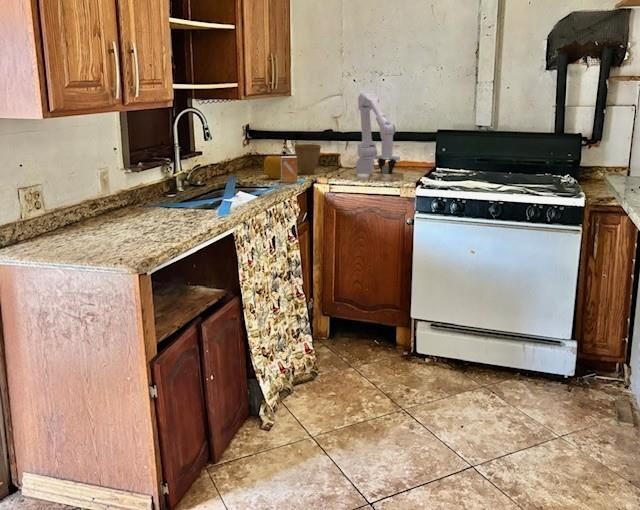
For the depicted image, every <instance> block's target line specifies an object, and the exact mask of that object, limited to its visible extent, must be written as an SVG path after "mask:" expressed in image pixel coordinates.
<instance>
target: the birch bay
mask: <svg viewBox="0 0 640 510" xmlns="http://www.w3.org/2000/svg"><path fill="white" fill-rule="evenodd" d="M404 175H405V173H404V172H403V171H392V175H389V174H381V170H377V171H374V172H372V173H369V180H368V181H380V182H387V183H388V182H390V183H394V182H397V181H402V180H404Z"/></svg>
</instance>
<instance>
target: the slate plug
mask: <svg viewBox="0 0 640 510" xmlns="http://www.w3.org/2000/svg"><path fill="white" fill-rule="evenodd" d="M382 174H389V165H388V163H385V165H384V166H382ZM389 175H392V174H389Z"/></svg>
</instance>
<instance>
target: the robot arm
mask: <svg viewBox="0 0 640 510" xmlns="http://www.w3.org/2000/svg"><path fill="white" fill-rule="evenodd" d="M357 106H358V110H359V111H360V112H359V113H360V126H361V141H360V142H359V143H358V144H357V157H358V158H357V160H356V162H355V175H357V174H360V173H366V174H369V173H372V172H375V170H374V169H375V167H374V165H375V163H374V162H375V160H377V161H376V162H377V164H378V166H379V168H380V171H381V174H382V166H384V165H385V164H386V161H387V164H388V165H389V174H392V172H394V171H393V170H394V167H395V165H396V163H397V162H398V161H401V157H400V156H396V155H393V148H394V147H393V145H394V139H393V138H394V135H395V134H396V126H395V124H394V123H392V122H390V119H389V118H388V116H387V114H386V113H384V112H383V110H382V108H381V106H380V97H379V94H378V93H376V92H373V93H372V92H371V93H370V92H369V93H367V92H366V93H363V92H362V93H360V94H359V96H358V98H357ZM371 110H372V111H373V112H374V114H375V116H376V117H375V120H376V122H377V124H378V127H379V128H380V129H379V134H380V139H381V155H379V154H378V149H377V148H378V147H377V143H376V142H374V141H373V138H372V137H373V136H372V125H371Z"/></svg>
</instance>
